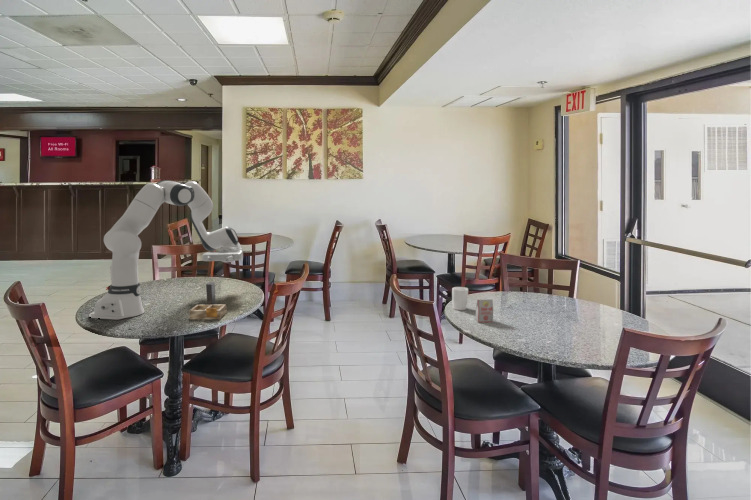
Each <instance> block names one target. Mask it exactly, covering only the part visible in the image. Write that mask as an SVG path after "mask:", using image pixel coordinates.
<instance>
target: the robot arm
mask: <svg viewBox="0 0 751 500" xmlns="http://www.w3.org/2000/svg"><path fill="white" fill-rule="evenodd" d="M164 203H166V204H170V205H172V206H173V205H174V206H177V207H181V206H182V207H183V206H186V205H187V206H188V207H189V208H190V213H189V218H190V221H191V224H192V225H193V228H194V229H195V233H197V235H198V237H199V239H200V242H201V244H202V247H203V248H204V249H205V250H206V251H207V252H204V253H203V254H202V255H201V256H202V257H201V258H202V261H203V262H220V261H221V262H222V263H230V262H234V261H235V262H237V261H243V260H244V252H243V248H242V245H241V244H240V242H239V237H238V234H237V232H236V231H235V229H233V228H232V227H230V226H227V225H226V226H224V227H221V228H219V229H216V230H212V231H207V230H206V227H205V225H204V222H203V221H205V219H206V218H208V217H209V216H210V214H211V213H212V211H213V210H214V209H213V208H214V203H213V201H212V199H211V197H210V196H209V195H208V193H207V191H205V189H204V188H203V187H202V186H201V185H200V184H199V183H198V182H196V181H187V182H184V183H180V182H178V181H173V180H168V179H167V180H166V179H164V180H163V179H162V180H160V181H156V183H151V182H150V183H149V182H148V183H146V184H145V185H144V186H143V187H142V188H141V189H140V190H139V191H138V193H137V194H136V195H135V197H134V198H133V200H132V201H131V202H130V204H129V205H128V207H127V208H126V210H125V211H124V213H123V215H122V216H121V217H120V218H119V219H117V221H116V222H115V224H113V226H112V227H111V228H110V229H109V230H108V231H107V232H106V233H105V235H103V243H104V246H105V247H106V248H107V249H108V250H109V251H111V252H112V256H111V257H112V258H111V265H110V267H109V269H110V270H109V271H110V272H109V274H110V281H111V282H110V285H108V286H107V287H105V291H107V293H106V294H104V295H103V296H102V297H101V298H100V299H98V300H97V301H96V302H95V305H94V308H93V309H94V310H93V311H92V312H90V313H89V314H88V318H89V317H91V318H90V319H98V318H100V319H101V320H115V321H116V320H122V319H126V318H132V317H136V316H139V315H142V314H144V313H145V309H144V307H143V303H142V297H141V283H140V282H139V281H140V280H139V257H140V250H141V248H142V244H143V243H142V241H141V238H140V237H139V235H140V234H141V233H142V232H143V230H145V229H146V228H148V226H149V225H150V223H152V220H153V218H154V217H155V215H156V213H157V212H158V210H159V208H160V207H161V205H163V204H164ZM216 250H217V251H216Z"/></svg>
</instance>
